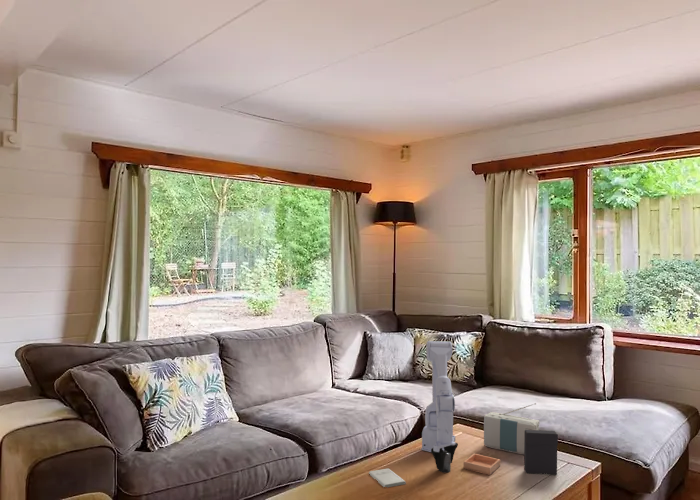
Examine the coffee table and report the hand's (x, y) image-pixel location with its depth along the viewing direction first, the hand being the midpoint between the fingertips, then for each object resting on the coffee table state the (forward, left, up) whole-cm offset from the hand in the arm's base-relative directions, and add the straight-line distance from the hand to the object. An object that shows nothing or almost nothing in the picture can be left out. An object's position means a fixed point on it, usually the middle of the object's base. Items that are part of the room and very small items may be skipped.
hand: (444, 465), depth 200 cm
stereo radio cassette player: (+13, +35, -2) cm, 38 cm away
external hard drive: (-13, -19, -2) cm, 23 cm away
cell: (0, 0, -2) cm, 2 cm away
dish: (+10, +11, -2) cm, 15 cm away
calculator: (+29, +19, -2) cm, 35 cm away
